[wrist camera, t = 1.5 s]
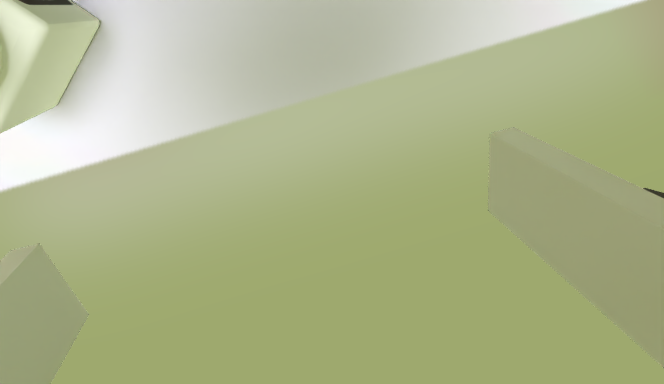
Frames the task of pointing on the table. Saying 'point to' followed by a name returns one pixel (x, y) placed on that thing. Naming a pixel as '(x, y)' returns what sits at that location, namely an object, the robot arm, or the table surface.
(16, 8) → the container
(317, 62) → the table surface
